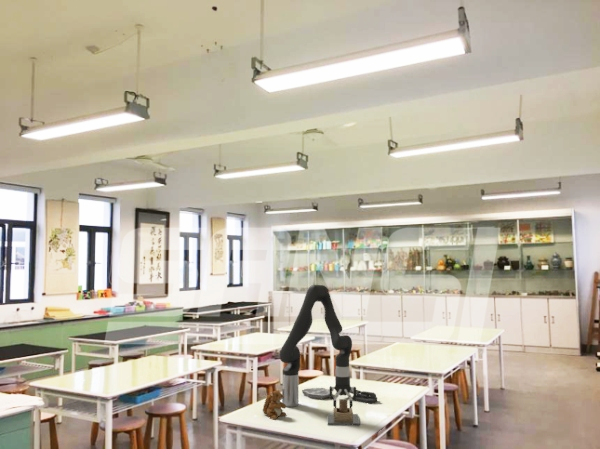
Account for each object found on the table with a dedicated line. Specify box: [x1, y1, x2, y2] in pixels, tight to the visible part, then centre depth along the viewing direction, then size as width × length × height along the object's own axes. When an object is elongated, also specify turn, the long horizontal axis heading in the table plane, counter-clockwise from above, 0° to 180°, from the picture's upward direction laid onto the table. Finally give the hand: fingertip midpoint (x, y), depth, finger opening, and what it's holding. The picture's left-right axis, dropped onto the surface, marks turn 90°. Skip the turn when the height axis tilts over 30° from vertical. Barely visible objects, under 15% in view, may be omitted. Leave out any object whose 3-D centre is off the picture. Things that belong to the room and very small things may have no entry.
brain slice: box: [301, 387, 330, 400], centre depth 296 cm, size 20×17×3 cm
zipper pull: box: [349, 389, 378, 405], centre depth 286 cm, size 9×7×25 cm
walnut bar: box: [338, 398, 348, 412], centre depth 245 cm, size 4×4×9 cm
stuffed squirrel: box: [262, 389, 287, 420], centre depth 254 cm, size 10×14×13 cm
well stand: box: [326, 407, 361, 426], centre depth 245 cm, size 16×16×5 cm
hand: (343, 407), depth 245 cm, fingers open, 7 cm apart
